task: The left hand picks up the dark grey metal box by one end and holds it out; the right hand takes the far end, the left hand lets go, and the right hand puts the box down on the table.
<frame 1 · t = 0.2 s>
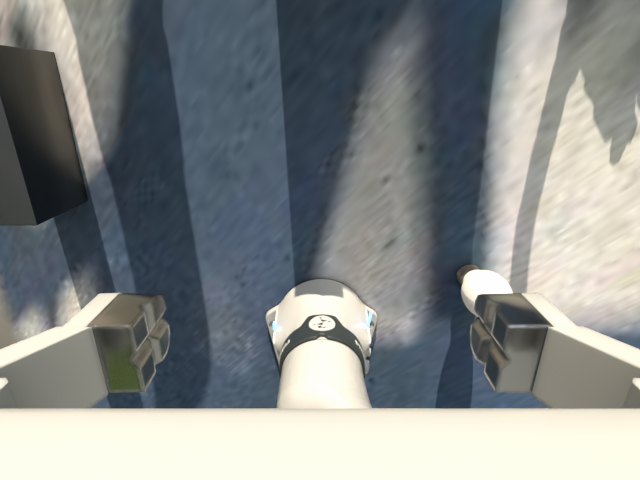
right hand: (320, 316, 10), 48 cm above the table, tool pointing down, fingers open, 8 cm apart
light bulb: (469, 273, 63), on the table
box: (50, 131, 55), on the table
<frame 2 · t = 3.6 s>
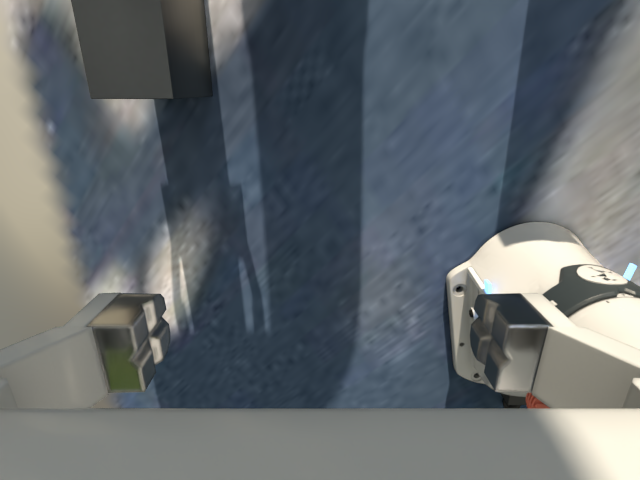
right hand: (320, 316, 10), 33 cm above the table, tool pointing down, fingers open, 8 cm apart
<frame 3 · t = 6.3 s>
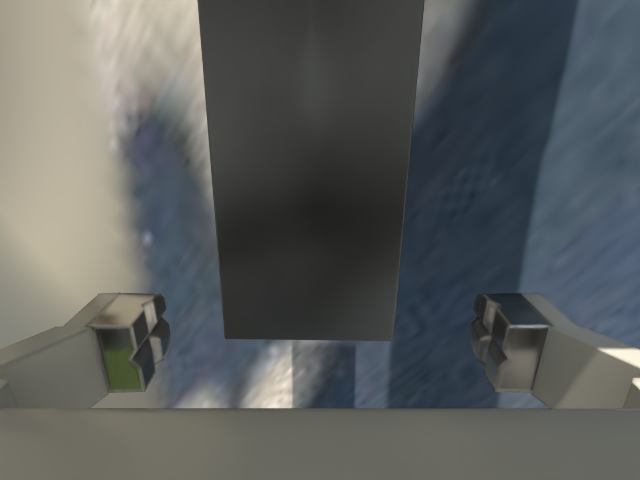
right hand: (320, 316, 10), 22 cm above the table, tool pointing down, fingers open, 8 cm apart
box: (315, 60, 21), point 8 cm above the table, touching left hand
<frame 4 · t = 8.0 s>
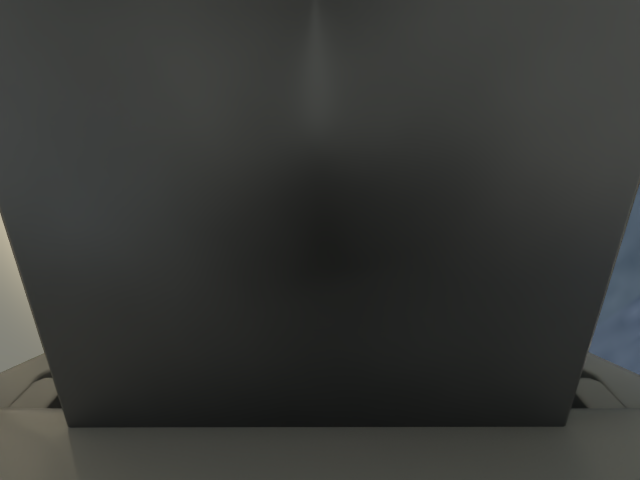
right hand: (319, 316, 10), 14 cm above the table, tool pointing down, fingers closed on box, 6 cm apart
box: (318, 68, 14), point 8 cm above the table, touching right hand, left hand
when the left hand's fingers open (14 cm above the table, at t = 9.1 s): box moves 2 cm, held by the right hand.
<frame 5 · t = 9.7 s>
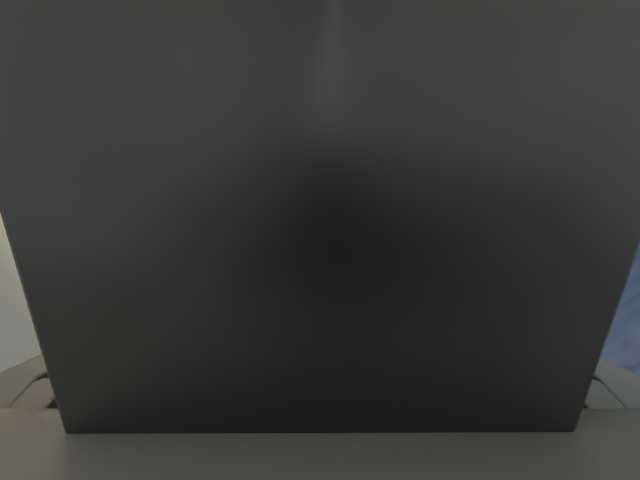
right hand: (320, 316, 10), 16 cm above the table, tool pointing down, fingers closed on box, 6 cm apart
box: (321, 64, 13), point 10 cm above the table, touching right hand
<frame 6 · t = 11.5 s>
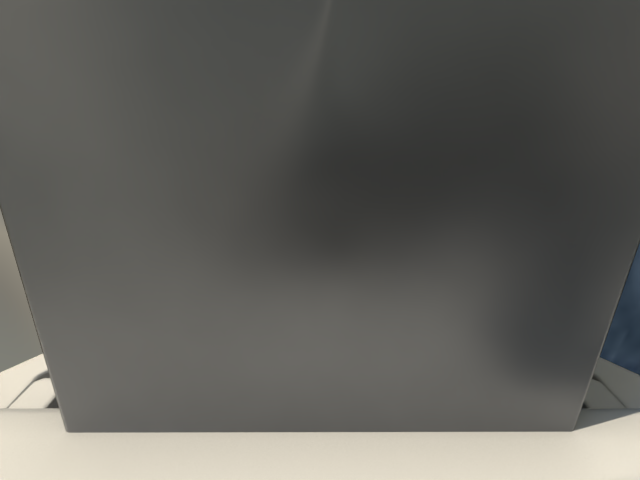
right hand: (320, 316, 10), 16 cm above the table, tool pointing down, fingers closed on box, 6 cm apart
box: (321, 65, 13), point 10 cm above the table, touching right hand
when the right hand's fingers open (8 cm above the table, at t = 12.9 s): box drops 2 cm, on the table.
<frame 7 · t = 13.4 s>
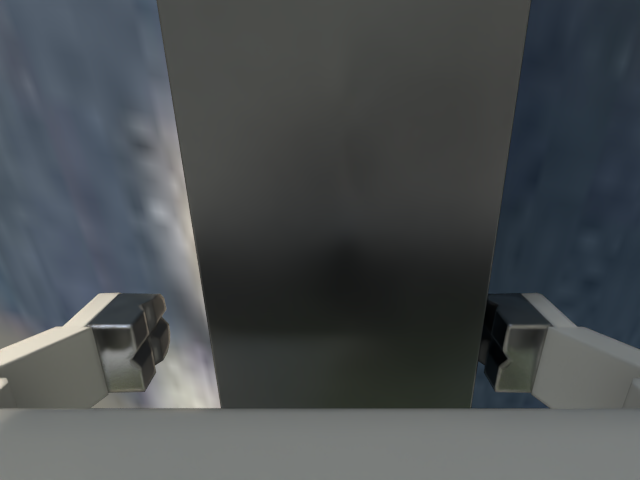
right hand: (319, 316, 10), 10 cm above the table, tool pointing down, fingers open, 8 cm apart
box: (328, 104, 17), on the table
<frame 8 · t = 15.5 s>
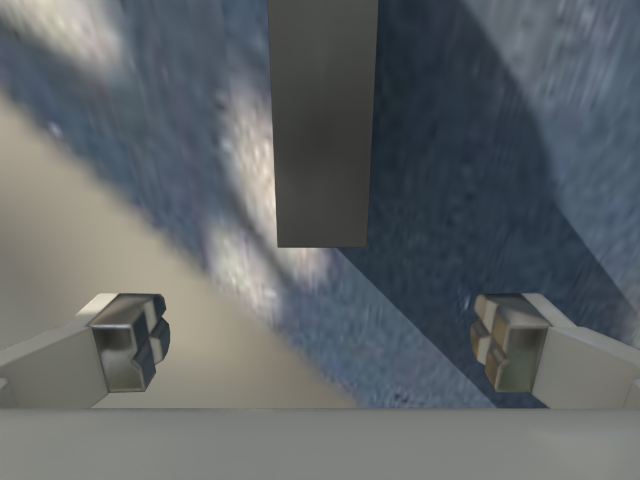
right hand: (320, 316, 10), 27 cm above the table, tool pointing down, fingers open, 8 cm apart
box: (321, 87, 33), on the table
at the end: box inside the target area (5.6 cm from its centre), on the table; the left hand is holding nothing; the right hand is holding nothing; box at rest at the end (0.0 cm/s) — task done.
